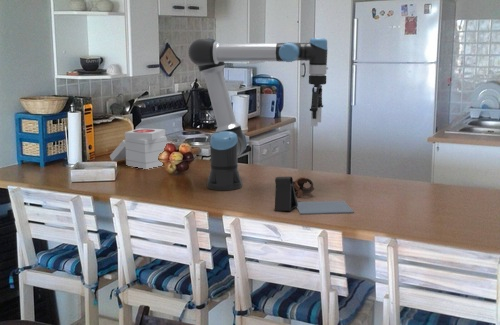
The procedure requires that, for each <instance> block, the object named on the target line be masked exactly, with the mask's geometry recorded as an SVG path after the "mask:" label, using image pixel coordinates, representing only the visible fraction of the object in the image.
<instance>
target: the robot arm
mask: <svg viewBox="0 0 500 325" xmlns="http://www.w3.org/2000/svg"><path fill="white" fill-rule="evenodd" d="M187 50H188V51H187V52H188V58H189V59H190V62H192V63H193V64H194V65H196V66H197V67H198V71H199V73H201V74H202V75H203V77H204V80H205V84H206V88H207V91H208V96H209V99H210V102H211V108H212V111H213V115H214V117H215V122H216V125H217V126H216V127H217V128H216V129H215V132H214V133H213V134H211V136H210V138H209V139H210V140H209V145H210V146H209V147H210V171H209V174H208V178H207V181H206V186H207V187H206V188H208V189H210V190H214V191H232V190H233V191H234V190H237V189H241V188H242V186H243V181H242V178H241V176H240V175H241V174H240V172H239V170H238V169H239V168H238V165H239V164H238V157H240V155H241V156H242V154H243V153H244V152H245V151H246V148H247V147H248V139H247V136H246V134H245V133H244V132H243V130H242V126H241V124H240V123H238V122H237V121H236V120H237V119H236V117H235V112H234V108H233V105H232V101H231V97H230V94H229V93H230V92H229V90H228V87H227V86H228V85H227V82H226V78H225V74H224V68H225V67H226V65H225V62H226V63H227V62H228V63H229V62H230V63H231V62H234V63H235V62H243V63H244V62H283V63H284V62H285V63H292V62H295V61H297V62H298V61H306V62H307V61H308V63H309V64H308V85H313V86H312V88H311V104H310V108H309V111H310V113H311V114H310V127H318V126H319V125H318V124H319V123H322V108H324V104H323V85H324V86H325V85H326V84H327V70H328V69H329V67H328V64H327V63H328V40H327V39H326V38H325V37H324V38H320V37H318V38H317V37H316V38H315V37H314V38H310V39H309V41H308V42H253V43H252V42H250V43H249V42H246V43H245V42H244V43H243V42H242V43H241V42H240V43H238V42H236V43H231V42H230V43H229V42H228V43H227V42H226V43H221V42H219V41H218V40H215V39H213V38H198V39H195V40H194V41H192V42H191V44H190V45H189V47H188V49H187Z"/></svg>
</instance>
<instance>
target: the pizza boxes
mask: <svg viewBox="0 0 500 325" xmlns="http://www.w3.org/2000/svg"><path fill="white" fill-rule="evenodd" d="M166 144H167V145H168V138H167V136H166V129H165V128H164V129H163V128H161V129H160V128H142V127H141V128H140V127H139V128H135V129H132V130H129V131H125V132H124V139H123V140H122V141H120V143H119V144H117V146H116V148H115V149H114V150H113V151H112V152H111V153H110V155H109V158H110V160H111V161H112V162H114V161H119V160H125V165H128V166H133V167H138V168H143V169H142V170H144V169H148V170H150V169H149V168H152V169H154V168H153V167H157V168H159V167H158V166H162V165H163V163H162V162H160V161H159V160H158V156H159V154H160V153H162V152H163V151H164V148H165V146H166ZM133 167H132V168H133ZM162 167H163V166H162ZM138 168H137V169H138Z"/></svg>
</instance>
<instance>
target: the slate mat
mask: <svg viewBox="0 0 500 325" xmlns="http://www.w3.org/2000/svg"><path fill="white" fill-rule="evenodd" d="M297 203H298V206H296V207H295V208H296V210H297V211H298V213H299V215H322V214H323V215H328V214H329V215H330V214H332V215H334V214H355V211H354V210H353V209H352V208H351V206H349V204H348V203H347V202H346V201H345V200H328V201H327V200H324V201H323V200H319V201H297Z"/></svg>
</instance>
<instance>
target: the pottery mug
mask: <svg viewBox="0 0 500 325" xmlns="http://www.w3.org/2000/svg"><path fill="white" fill-rule="evenodd" d="M307 182H308V183H309V185H310V186H309V187H305V184H306V183H307ZM293 186H294V190H295V193H296V197H297V198H302V197H303V196H306V195H309V194H312V192H313V191H314V190H315V188H314V183H313V181H312V180H311V179H310V178H308V177H298V178H296V179H295V181H294V180H293Z"/></svg>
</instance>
